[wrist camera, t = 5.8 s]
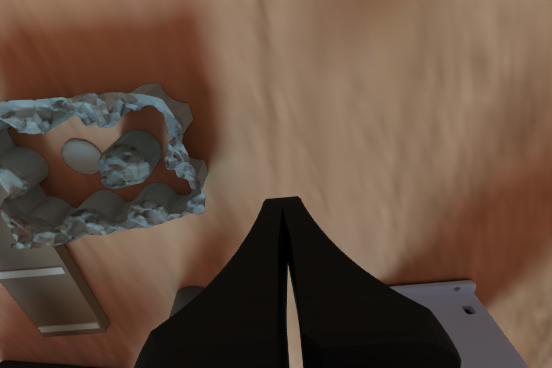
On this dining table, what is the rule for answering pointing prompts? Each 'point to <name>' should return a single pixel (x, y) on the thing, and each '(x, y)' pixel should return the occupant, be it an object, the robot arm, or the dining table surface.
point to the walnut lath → (48, 287)
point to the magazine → (33, 365)
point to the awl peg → (184, 297)
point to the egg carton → (95, 168)
